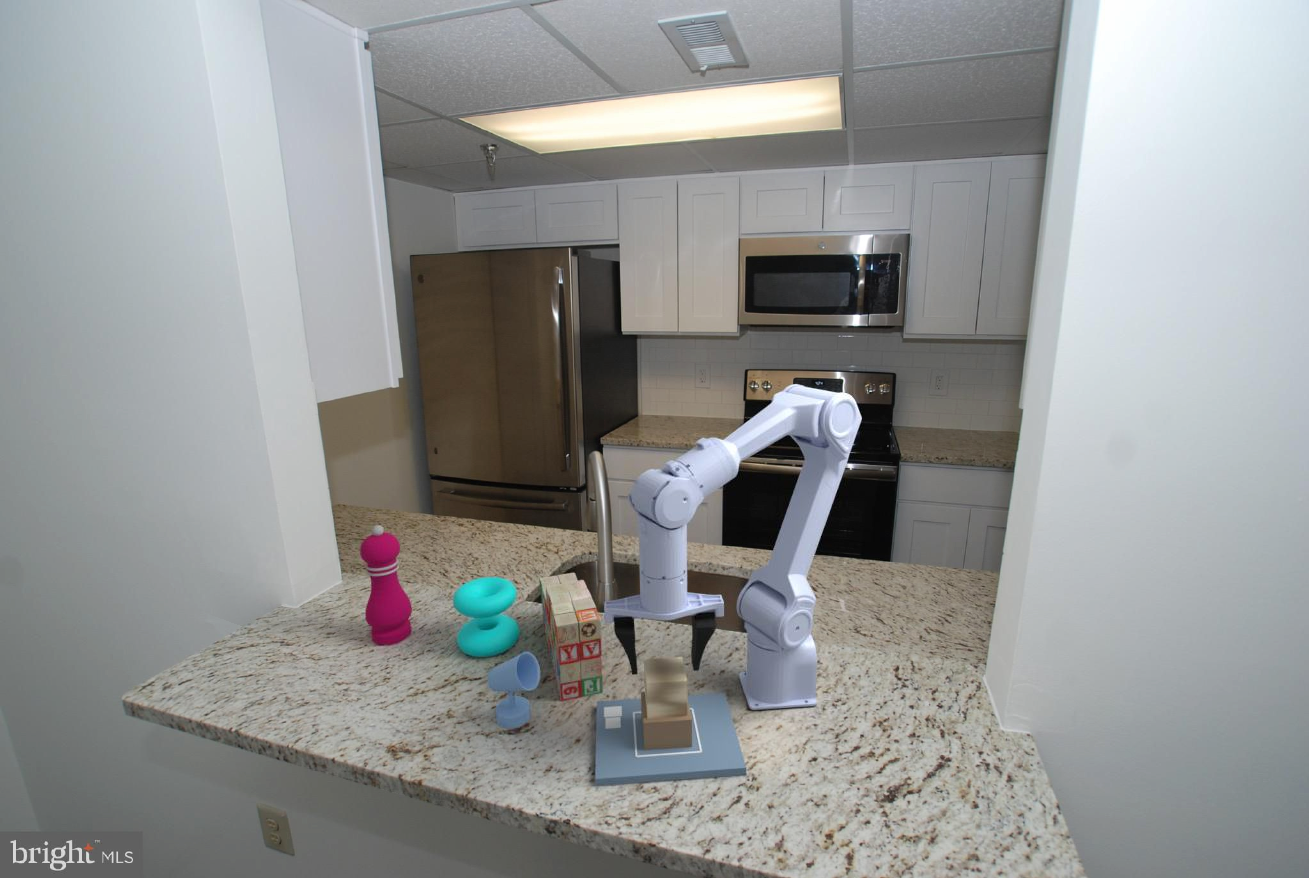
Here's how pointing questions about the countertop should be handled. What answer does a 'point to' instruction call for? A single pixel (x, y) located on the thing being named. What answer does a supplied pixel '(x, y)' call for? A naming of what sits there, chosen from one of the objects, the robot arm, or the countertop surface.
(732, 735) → the blueprint board
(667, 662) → the maple block
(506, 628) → the donuts
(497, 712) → the spotlight
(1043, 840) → the countertop surface
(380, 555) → the pepper mill
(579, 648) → the stack of blocks
